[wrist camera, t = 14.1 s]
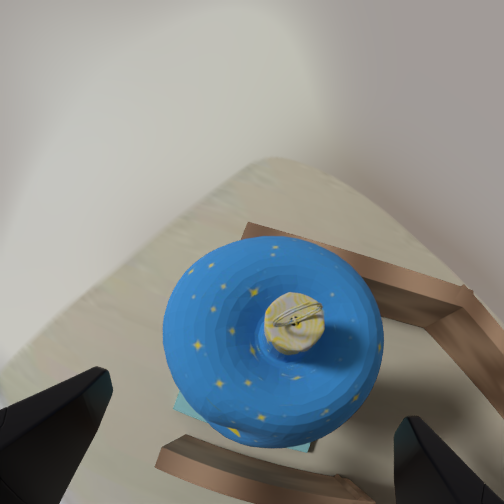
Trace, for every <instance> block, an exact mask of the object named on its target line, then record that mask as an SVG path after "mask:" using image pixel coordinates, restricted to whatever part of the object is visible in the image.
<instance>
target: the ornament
mask: <svg viewBox="0 0 504 504" xmlns="http://www.w3.org/2000/svg"><path fill="white" fill-rule="evenodd" d="M163 345H164V350H165V355H166V359H167V364H168V366H169V369H170V371H171V374H172V376H173V379H174V381H175V383H176V385H177V387H178V388H179V390H180V392H181V393H182V395H183V396H184V398H185V400H186V401H187V402H188V403H189V405H190V406H191V407H192V408H193V409H194V410H195V411H196V412H197V413H198V414H199V415H201V416H202V417H203V418H204V419H205V420H206V421H207V422H208V423H209V424H210V425H211V426H212V427H213V428H214V429H215V430H217V431H218V432H219V433H221V434H222V435H223V436H225V437H226V438H228V439H231V440H233V441H235V442H238V443H240V444H243V445H247V446H251V447H260V448H287V447H294V446H299V445H303V444H307V443H310V442H313V441H315V440H317V439H320V438H322V437H324V436H326V435H328V434H329V433H331V432H333V431H334V430H335V429H337V428H338V427H340V426H341V425H342V424H343V423H345V422H346V421H347V420H348V419H349V418H350V417H351V416H352V415H353V414H354V413H355V412H356V411H357V410H358V409H359V408H360V406H361V405H362V404H363V402H364V401H365V400H366V398H367V397H368V395H369V393H370V391H371V390H372V388H373V385H374V383H375V381H376V379H377V376H378V373H379V369H380V365H381V361H382V355H383V346H384V333H383V325H382V319H381V315H380V311H379V308H378V305H377V303H376V300H375V298H374V296H373V294H372V292H371V290H370V289H369V287H368V286H367V284H366V283H365V281H364V280H363V278H362V277H361V276H360V275H359V274H358V272H357V271H356V270H355V269H354V268H353V267H352V266H351V265H349V264H348V263H347V262H346V261H345V260H343V259H342V258H341V257H339V256H338V255H336V254H335V253H333V252H331V251H329V250H327V249H325V248H323V247H321V246H319V245H317V244H314V243H311V242H308V241H305V240H301V239H297V238H291V237H285V236H260V237H254V238H248V239H243V240H239V241H236V242H233V243H230V244H227V245H225V246H222V247H220V248H217V249H215V250H213V251H212V252H210V253H208V254H206V255H205V256H203V257H202V258H200V259H199V260H198V261H197V262H195V263H194V264H193V265H192V266H191V267H190V268H189V269H188V270H187V271H186V272H185V273H184V275H183V276H182V277H181V279H180V280H179V281H178V283H177V285H176V286H175V288H174V290H173V292H172V294H171V296H170V299H169V301H168V304H167V308H166V311H165V315H164V321H163Z"/></svg>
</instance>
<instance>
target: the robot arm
mask: <svg viewBox="0 0 504 504" xmlns="http://www.w3.org/2000/svg"><path fill="white" fill-rule="evenodd" d="M112 393H113V387H112V382H111V378H110V374H109V371H108V370H107V369H104V368H101V367H98V366H96V367H93V368H91V369H89V370H87V371H85V372H82V373H80V374H78V375H76V376H74V377H72V378H70V379H68V380H65V381H63V382H61V383H59V384H57V385H55V386H52V387H50V388H48V389H46V390H44V391H41V392H39V393H37V394H35V395H33V396H30V397H28V398H26V399H24V400H21V401H19V402H17V403H15V404H12V405H10V406H8V408H7V407H5V408H3V409H1V410H0V504H59V503H60V501H61V499H62V497H63V495H64V493H65V491H66V489H67V487H68V485H69V484H70V482H71V480H72V478H73V476H74V474H75V472H76V470H77V468H78V466H79V464H80V462H81V461H82V459H83V457H84V455H85V453H86V451H87V449H88V448H89V446H90V444H91V442H92V440H93V438H94V436H95V434H96V433H97V430H98V428H99V426H100V423H101V421H102V418H103V416H104V413H105V411H106V408H107V406H108V403H109V401H110V399H111V396H112ZM394 484H395V495H396V504H504V501H503V500H501V499H500V498H499V497H498V496H497V495H496V494H495V493H494V492H493V491H492V490H491V489H490V488H489V487H488V486H487V485H486V484H484V482H483V481H482V480H481V479H480V478H479V477H478V476H477V475H476V474H475V473H474V472H473V471H472V470H471V469H470V468H469V467H468V466H467V465H466V464H465V463H464V462H463V461H462V460H461V459H460V457H459V456H458V455H457V454H456V453H455V452H454V451H453V450H452V449H451V448H450V447H449V446H448V445H447V444H446V443H445V442H444V441H443V440H442V439H441V438H440V437H439V436H438V435H437V434H436V433H435V432H434V431H433V430H432V429H431V428H430V427H429V426H428V425H427V424H426V423H425V422H424V421H423V420H422V419H421V418H420V417H419V416H406V417H405V418H404V419H403V421H402V422H401V424H400V426H399V427H398V429H397V430H396V432H395V435H394Z"/></svg>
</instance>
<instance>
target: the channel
mask: <svg viewBox="0 0 504 504" xmlns="http://www.w3.org/2000/svg"><path fill="white" fill-rule="evenodd" d="M260 236H285V237H291V238H297V239H301V240H305V241H308V242H311V243H314V244H317V245H319V246H321V247H323V248H325V249H327V250H329V251H331V252H333V253H335V254H336V255H338V256H339V257H341V258H342V259H343V260H345V261H346V262H347V263H348V264H349V265H351V266H352V267H353V268H354V269H355V270H356V271H357V272H358V274H359V275H360V276H361V277H362V278H363V280H364V281H365V283H366V284H367V286H368V287H369V289H370V290H371V292H372V294H373V296H374V298H375V300H376V303H377V305H378V308H379V311H380V315H381V316H382V317H386V318H389V319H393V320H397V321H400V322H404V323H408V324H411V325H415V326H419V327H422V328H424V329H425V330H426V331H427V332H428V333H429V334H430V335H431V336H432V337H433V338H434V339H435V340H436V341H437V343H438V344H439V345H440V346H441V347H442V348H443V349H444V350H445V351H446V352H447V353H448V355H449V356H450V357H451V358H452V359H453V360H454V361H455V362H456V363H457V365H458V366H459V367H460V368H461V369H462V370H463V371H464V372H465V374H466V375H467V376H468V377H469V378H470V379H471V380H472V382H473V383H474V384H475V385H476V386H477V387H478V389H479V390H480V391H481V392H482V393H483V394H484V396H485V397H486V398H487V399H488V400H489V402H490V403H491V404H492V405H493V406H494V408H495V409H496V410H497V411H498V413H499V414H500V415H501V416H502V418H503V419H504V330H503V329H502V328H501V327H500V325H499V324H498V323H497V322H496V320H495V319H494V318H493V317H492V316H491V314H490V313H489V312H488V311H487V310H486V309H485V307H484V306H483V305H482V304H481V303H480V302H479V300H478V299H477V298H476V297H475V296H474V295H473V290H470V289H468V288H467V287H466V286H465V285H462V286H458V285H455V284H452V283H449V282H446V281H443V280H440V279H437V278H433V277H430V276H427V275H424V274H421V273H418V272H415V271H412V270H409V269H405V268H402V267H399V266H396V265H393V264H390V263H386V262H383V261H380V260H377V259H373V258H370V257H367V256H364V255H360V254H357V253H354V252H351V251H347V250H344V249H341V248H337V247H334V246H331V245H327V244H324V243H320V242H317V241H314V240H310V239H307V238H303V237H300V236H296V235H293V234H289V233H286V232H282V231H279V230H275V229H272V228H268V227H265V226H261V225H258V224H254V223H250V222H248V223H247V225H246V228H245V230H244V233H243V235H242V238H241V240H243V239H248V238H254V237H260ZM155 468H157V469H159V470H162V471H164V472H166V473H168V474H171V475H173V476H175V477H178V478H180V479H183V480H185V481H188V482H190V483H193V484H195V485H198V486H201V487H204V488H206V489H209V490H212V491H215V492H218V493H221V494H224V495H227V496H230V497H234V498H237V499H240V500H244V501H247V502H251V503H255V504H375V503H376V502H375V501H374V500H373V499H372V498H370V497H369V496H368V495H367V494H366V493H364V492H363V491H362V490H361V489H360V488H359V487H357V486H356V485H355V484H354V483H353V482H352V481H351V480H349V479H346V478H342V477H340V476H339V475H338V474H336V475H335V476H328V475H322V474H317V473H312V472H307V471H303V470H298V469H294V468H289V467H285V466H281V465H277V464H273V463H270V462H266V461H262V460H259V459H255V458H252V457H249V456H245V455H242V454H239V453H236V452H233V451H230V450H227V449H224V448H221V447H218V446H215V445H213V444H210V443H207V442H204V441H202V440H199V439H197V438H194V437H192V436H189V435H187V434H185V435H184V436H182V437H180V438H178V439H176V440H174V441H172V442H170V443H169V444H167V445H165V446H163V447H162V448H161V451H160V454H159V456H158V459H157V462H156V465H155Z"/></svg>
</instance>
